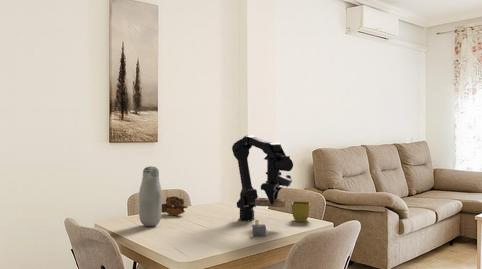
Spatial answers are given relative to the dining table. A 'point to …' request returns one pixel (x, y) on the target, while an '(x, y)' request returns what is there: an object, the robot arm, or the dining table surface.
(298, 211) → the flower pot
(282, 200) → the link
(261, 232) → the keeper
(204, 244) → the dining table surface
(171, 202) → the wooden carving
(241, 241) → the dining table surface
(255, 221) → the pin
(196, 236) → the dining table surface
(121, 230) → the dining table surface
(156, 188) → the grey tall rounded cylinder
